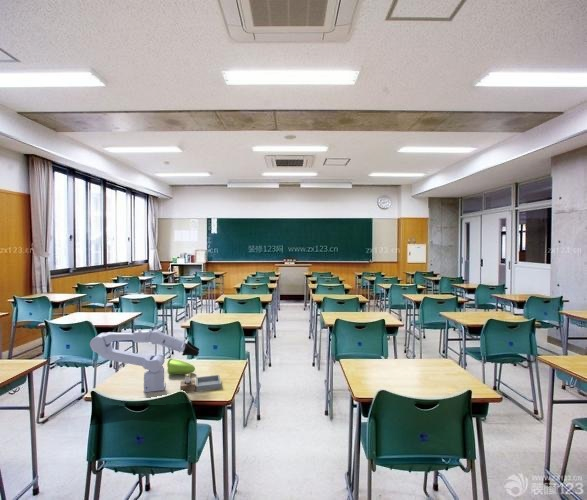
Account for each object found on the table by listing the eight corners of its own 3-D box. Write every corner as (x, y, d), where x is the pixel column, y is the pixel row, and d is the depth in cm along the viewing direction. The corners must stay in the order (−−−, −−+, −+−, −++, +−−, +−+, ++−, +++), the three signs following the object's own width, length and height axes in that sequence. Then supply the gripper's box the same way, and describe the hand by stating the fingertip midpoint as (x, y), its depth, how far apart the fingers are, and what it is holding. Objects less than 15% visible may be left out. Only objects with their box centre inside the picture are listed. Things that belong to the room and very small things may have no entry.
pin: (185, 389, 166) (185, 375, 166) (185, 387, 169) (185, 373, 169) (190, 389, 167) (190, 375, 167) (190, 387, 169) (190, 373, 169)
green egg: (157, 359, 185) (191, 363, 182) (168, 356, 197) (200, 360, 194) (154, 373, 183) (188, 378, 180) (166, 370, 195) (198, 375, 192)
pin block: (180, 392, 163) (180, 386, 163) (180, 386, 170) (180, 380, 170) (195, 390, 166) (195, 384, 166) (194, 384, 172) (194, 379, 172)
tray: (196, 391, 164) (196, 386, 164) (195, 382, 176) (195, 377, 176) (221, 388, 168) (221, 383, 168) (219, 379, 179) (219, 374, 179)
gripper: (175, 337, 163) (201, 347, 166) (177, 333, 177) (201, 342, 180) (168, 351, 162) (195, 361, 165) (171, 346, 176) (196, 355, 179)
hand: (198, 352), depth 172 cm, fingers open, 7 cm apart
